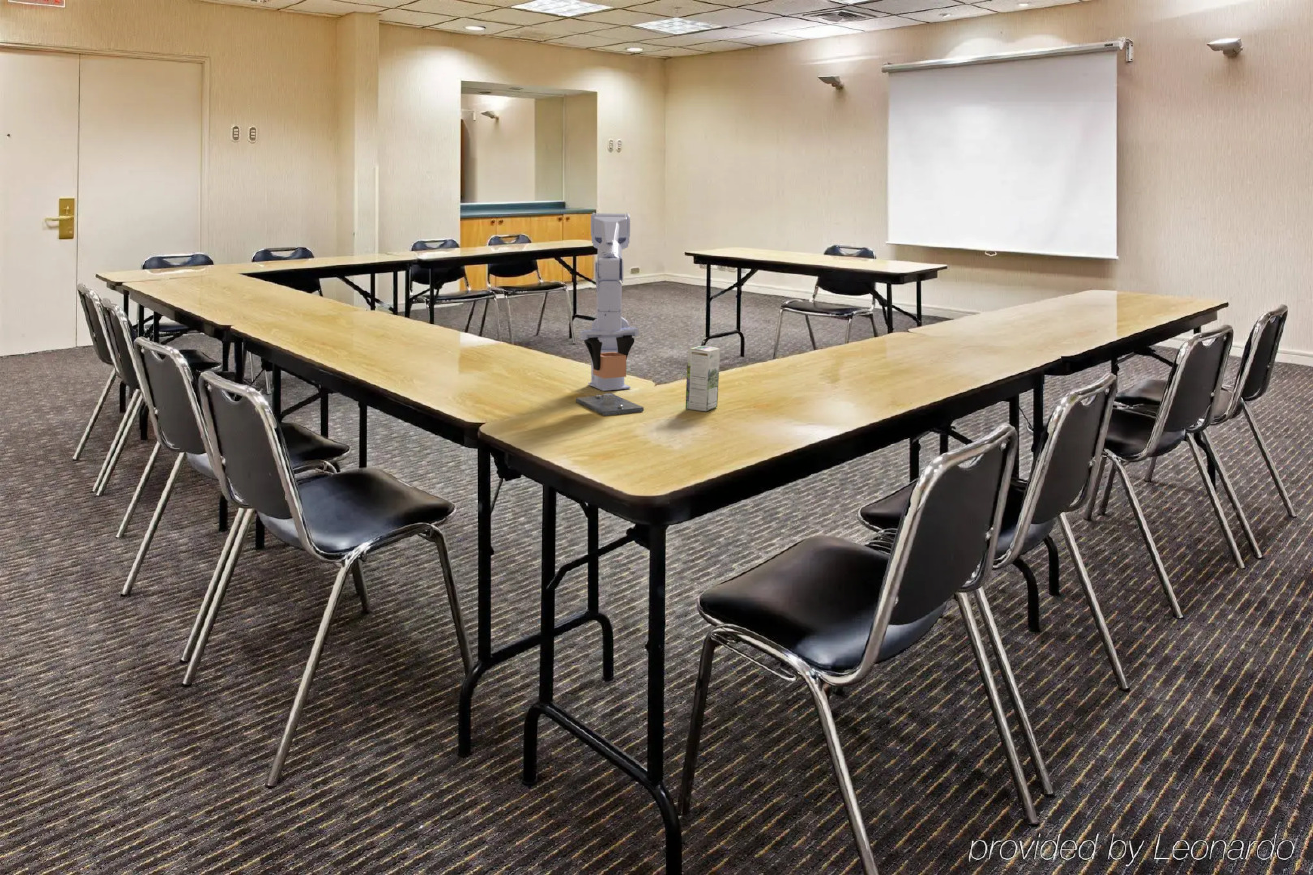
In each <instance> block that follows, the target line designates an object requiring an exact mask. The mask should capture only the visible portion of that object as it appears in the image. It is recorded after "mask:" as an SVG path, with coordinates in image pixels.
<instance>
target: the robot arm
mask: <svg viewBox="0 0 1313 875" xmlns="http://www.w3.org/2000/svg"><path fill="white" fill-rule="evenodd" d="M590 237H591V244H592V246H593V247H594V248H595V249H597V257H596V260H595V262H594V281H595V288H596V289H595V291H596V318H595V319H594V320H593V321H592V323H591V329H586V330H579V331H578V339H579V340H581V341H583V343H584V344H585V346H586V348H587V350H588V353H589V354H590V355H589V356H590V357H591V361H590V366H591V367H590V369H591V370H590V372H591V373H590V375H591V378H590V379H591V380H590V382H588V383H587V385H588V386H591V387H593V388H595V389H598V390H599V391H602V392H605V391H606V392H607V391H617V390H626V389H631V385H627V384H625V377H617V378H606V379H603V378H601V377H598V376H596V375H593V367H594V369H595V370H600V365H601V364H600V355H601V353H605V352H618V353H620V354H623V355H626V361H627V360H628V356H629V354H630V351H631V349H632V347H633V345H634V343H635V338H634V337H639V336H640V334H639V333H640V328H639V327H635V326H634V327H633V326H632V327H630V323H629V321H628V320H627V319H626V318H624V317H623V316H622V309H623V308H622V306H623V305H622V298H623V297H622V289H623V287H622V283H623V282H624V272H625V271H624V258H623V250H625V249H627V248H629V244H630V237H631V215H630V214H629V213H628V212H626V213H613V212H610V213H606V212H603V213H602V212H601V213H599V212H598V213H596V212H592V213H591V215H590ZM620 281H621V282H620Z"/></svg>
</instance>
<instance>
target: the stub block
mask: <svg viewBox="0 0 1313 875" xmlns="http://www.w3.org/2000/svg"><path fill="white" fill-rule="evenodd" d="M575 402H576V403H578V404H580V405H582V406H584V407H586V408H588V409H589V410H592V411H594V412H596V413H598V414H600V415H602V416H604V417H608V416H614V415H615V414H617V415H625V414H632V413H634V414H635V413H642V412H643V411H644V410H645V409H644V407H643V406H642V405H639V404H637V403H635V402H632V401H630V400H628V399H625V398H623V397H621V396H619V395H616V394H614V393H611V392H609V393H603V395H601V394H595V395H593V396H592V395H591V396H584V397H583V396H582V397H576V398H575ZM615 416H616V415H615Z"/></svg>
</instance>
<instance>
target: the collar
mask: <svg viewBox="0 0 1313 875" xmlns="http://www.w3.org/2000/svg"><path fill="white" fill-rule="evenodd" d="M600 364H601V365H600V370H595V369H594V367H593V375H596V376H598V377H601V378H603V379H606V378H617V377H624V378H626V377H627V360H626V355H623V354H620V353H618V352H605V353H601V355H600Z"/></svg>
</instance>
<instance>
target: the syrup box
mask: <svg viewBox="0 0 1313 875" xmlns="http://www.w3.org/2000/svg"><path fill="white" fill-rule="evenodd" d="M720 354H721V348H719V347H714V346H710V345H698V346H695V347H692V348H688V349H687V358H686V359H687V360H686V361H687V362H686V383H685V384H686V385H685V386H686V387H685V388H686V390H685V409H686V410H692V411H699V412H709V411H711V410H714V409H716V408H718V399H719V381H720V377H719V376H720V360H721V359H720V356H721V355H720Z"/></svg>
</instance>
